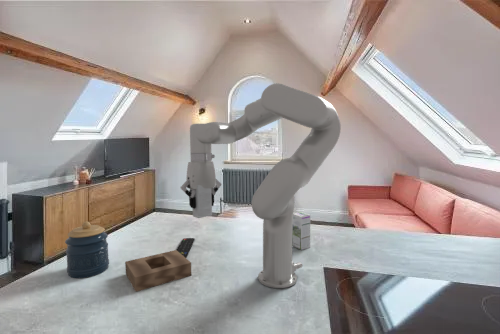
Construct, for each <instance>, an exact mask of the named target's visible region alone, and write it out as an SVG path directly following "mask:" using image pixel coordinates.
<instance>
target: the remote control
mask: <svg viewBox="0 0 500 334" xmlns="http://www.w3.org/2000/svg"><path fill="white" fill-rule="evenodd" d="M194 242H195V238H194V237H185V238H182V240H181V241H180V243H179V245H178V247H177V248H176V250H177V251H178V252H179V253H180V254H182V255H183V256H184V257H185V258H186V259H188V258H187V257H188V255H189V253H190V251H191V248H192V246H193V244H194Z"/></svg>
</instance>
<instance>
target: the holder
mask: <svg viewBox="0 0 500 334" xmlns="http://www.w3.org/2000/svg"><path fill="white" fill-rule="evenodd" d="M124 264H125V265H124V266H125V275H126V277H127V279H128V280H129V282H130V285H131V286H132V288H133V289H134V292H140V291H143V290H147V289H150V288H153V287H157V286H160V285H164V284H166V283H172V282H174V281H177V280H181V279H185V278H187V277H191V276H192V262H191V261H190V260H189V259H188V258H185V257H184V256H183V255H182V254H180V253H179V252H178V251H177V249H175V250H169V251H165V252H161V253H158V254H153V255H148V256H145V257H139V258H135V259H132V260H131V259H130V260H126V261H124Z"/></svg>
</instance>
